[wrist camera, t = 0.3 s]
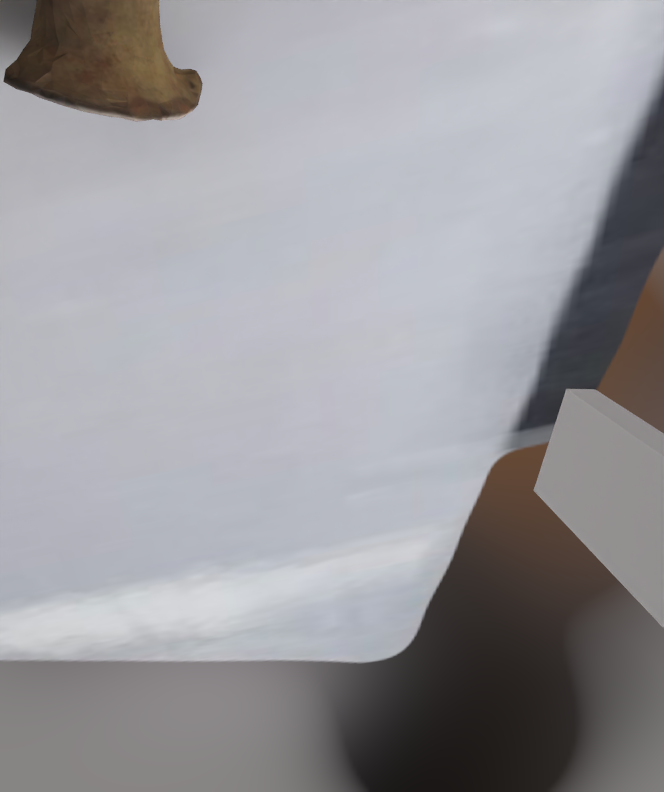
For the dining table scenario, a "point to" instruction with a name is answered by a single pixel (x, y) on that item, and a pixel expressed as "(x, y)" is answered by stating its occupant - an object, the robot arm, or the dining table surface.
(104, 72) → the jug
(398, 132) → the dining table surface
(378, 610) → the dining table surface
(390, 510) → the dining table surface
